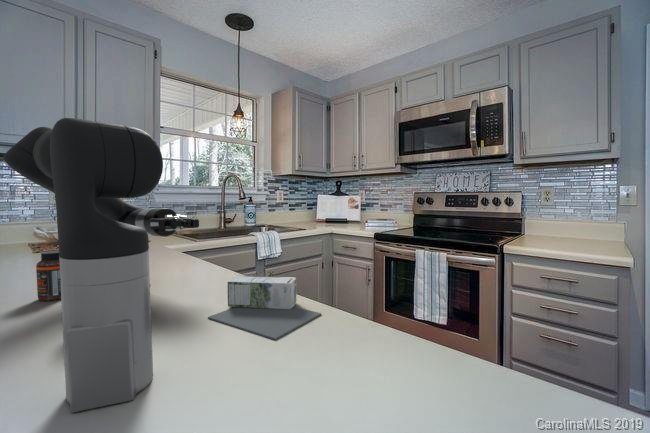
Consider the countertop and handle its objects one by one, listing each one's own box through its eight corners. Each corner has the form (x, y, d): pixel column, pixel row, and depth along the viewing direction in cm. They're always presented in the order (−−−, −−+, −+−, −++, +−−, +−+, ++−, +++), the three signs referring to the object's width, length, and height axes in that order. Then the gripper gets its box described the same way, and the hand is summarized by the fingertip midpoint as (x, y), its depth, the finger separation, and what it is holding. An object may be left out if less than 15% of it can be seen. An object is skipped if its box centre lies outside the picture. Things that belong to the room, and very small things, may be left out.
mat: (207, 318, 64) (207, 316, 64) (258, 299, 75) (258, 298, 75) (275, 340, 54) (275, 338, 54) (321, 314, 66) (321, 313, 66)
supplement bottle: (31, 300, 75) (28, 253, 74) (58, 293, 81) (56, 249, 80) (49, 303, 73) (46, 254, 73) (76, 295, 79) (73, 250, 78)
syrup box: (236, 299, 75) (297, 301, 74) (226, 307, 69) (292, 309, 68) (236, 275, 75) (297, 276, 73) (226, 281, 69) (292, 283, 67)
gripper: (130, 208, 80) (168, 208, 70) (179, 207, 91) (218, 207, 81) (131, 238, 80) (170, 242, 71) (180, 233, 91) (219, 236, 82)
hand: (196, 223), depth 76 cm, fingers closed
